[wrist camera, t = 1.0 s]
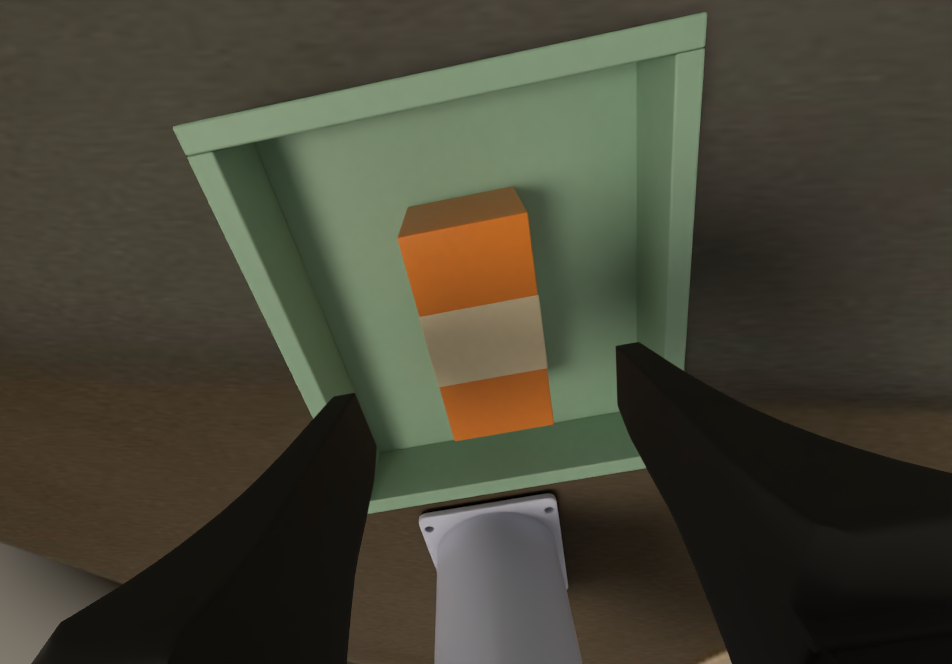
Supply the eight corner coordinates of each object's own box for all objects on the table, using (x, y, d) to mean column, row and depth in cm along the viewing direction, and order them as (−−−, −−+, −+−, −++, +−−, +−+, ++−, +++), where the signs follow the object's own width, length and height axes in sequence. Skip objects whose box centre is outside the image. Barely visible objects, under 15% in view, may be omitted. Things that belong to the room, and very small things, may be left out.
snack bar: (539, 371, 21) (554, 425, 17) (453, 386, 21) (454, 442, 18) (513, 185, 16) (528, 212, 13) (406, 207, 17) (395, 238, 13)
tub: (647, 410, 23) (678, 463, 20) (371, 457, 24) (359, 515, 20) (653, 24, 15) (708, 11, 11) (227, 115, 15) (170, 126, 12)
